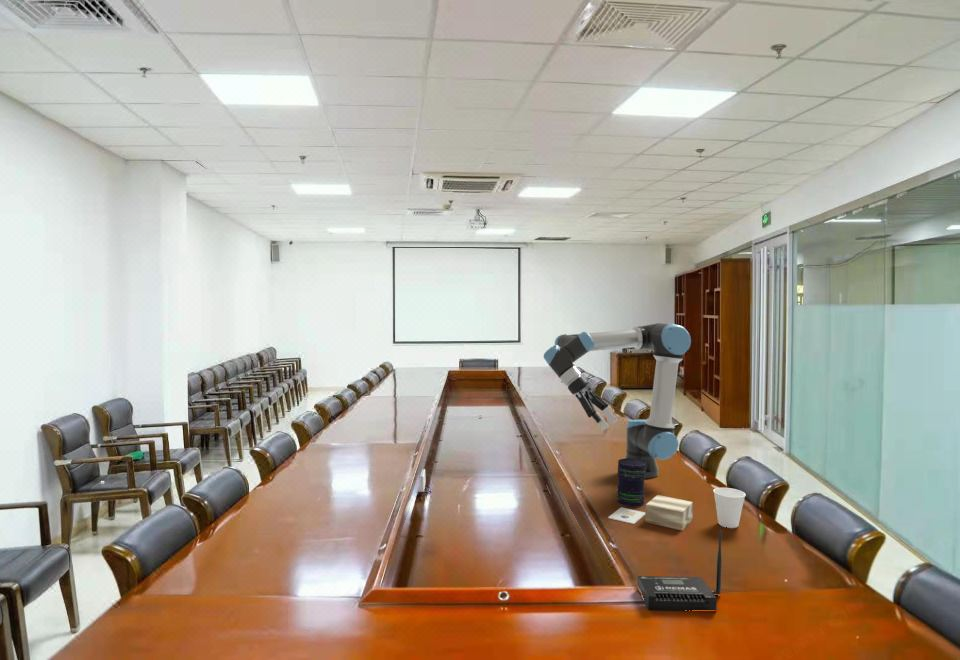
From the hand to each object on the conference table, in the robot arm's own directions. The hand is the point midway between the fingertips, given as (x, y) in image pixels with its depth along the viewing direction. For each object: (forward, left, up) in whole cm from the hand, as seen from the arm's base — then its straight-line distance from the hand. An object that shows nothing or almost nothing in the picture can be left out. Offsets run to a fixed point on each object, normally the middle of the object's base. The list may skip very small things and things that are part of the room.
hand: (610, 425), depth 218 cm
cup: (+2, +42, -27) cm, 50 cm away
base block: (+10, +25, -27) cm, 38 cm away
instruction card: (+14, +12, -27) cm, 33 cm away
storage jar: (0, +8, -27) cm, 29 cm away
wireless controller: (+61, +44, -28) cm, 80 cm away
